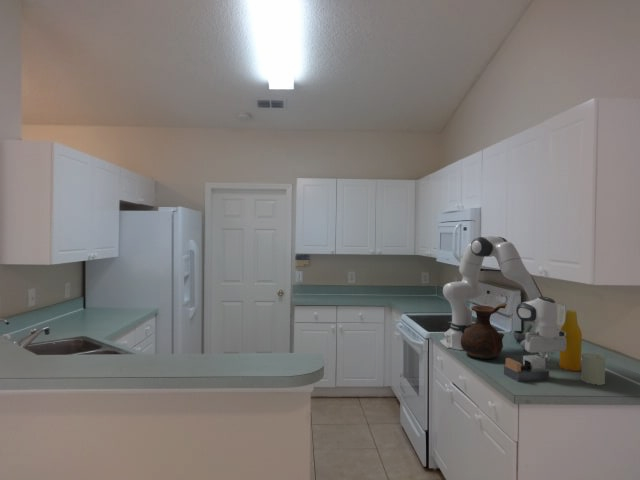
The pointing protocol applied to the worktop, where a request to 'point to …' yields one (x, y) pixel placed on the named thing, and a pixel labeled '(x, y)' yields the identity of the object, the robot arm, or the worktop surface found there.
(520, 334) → the mortar and pestle
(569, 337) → the beer bottle
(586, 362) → the can
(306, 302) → the worktop surface
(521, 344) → the air freshener
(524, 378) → the base
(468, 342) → the jug
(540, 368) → the notched grey block
